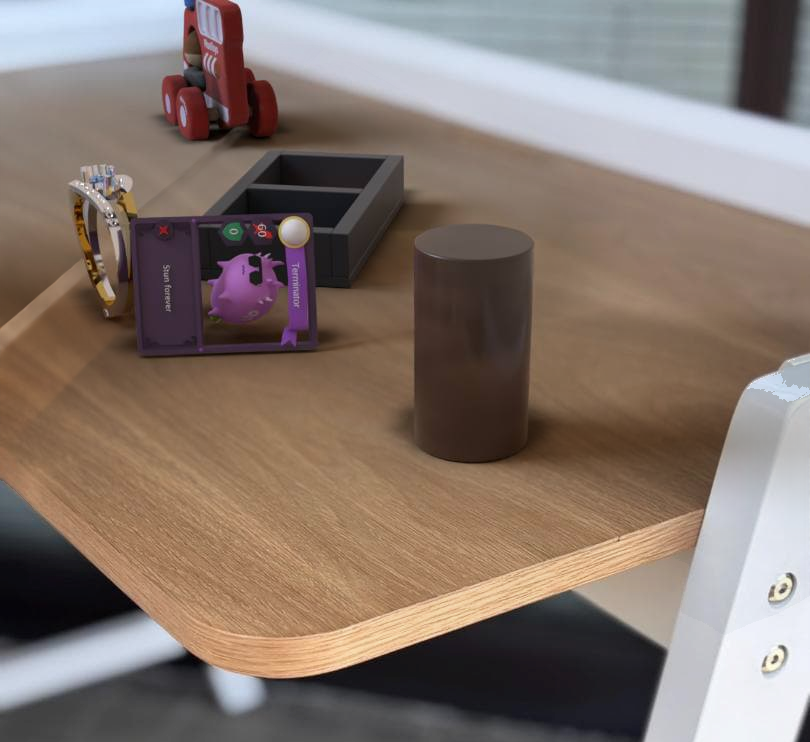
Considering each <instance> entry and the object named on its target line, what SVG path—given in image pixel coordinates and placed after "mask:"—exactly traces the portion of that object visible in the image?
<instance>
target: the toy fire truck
mask: <svg viewBox="0 0 810 742" xmlns="http://www.w3.org/2000/svg"><path fill="white" fill-rule="evenodd" d="M183 4H184V6H185V9H184V10H183V35H182V58H183V67H184V69H183V71H182V73H183V74H182V75H181V74H171V75H166V76H164V78H163V79H162V82H161V99H162V105H163V106H162V107H163V111H164V116H165V119H166V120H167V121H169V123H171V124H172V125H174V126H178V128H179V133H180V134H181V135H182V136H183V137H184V138H186V139H187V140H189V141H200V140H208V139H209V135H210V129H211V127H210V126H211V125H210V122H216V124H217V126H218V128H219V129H221V130H225V129H226V130H227V129H232V128H237V127H241V126H245V125H246V124H247V126H248V128H249V131H250V132H251V134H252V136H254V137H257V138H262V137H271V136H273V135H275V133H276V131H277V129H278V125H279V107H278V102H277V97H276V93H275V90H274V88H273V86H272V84H271V82H269V81H268V80H267V79H259V80H256V76H255V74H254V72H253V71H252V69H251V68H249V67H245V56H244V41H245V39H244V38H245V35H244V22H243V14H242V13H243V12H242V10H241V7H240V6H239V4H238V3H236V2H234V1H231V0H183Z"/></svg>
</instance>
